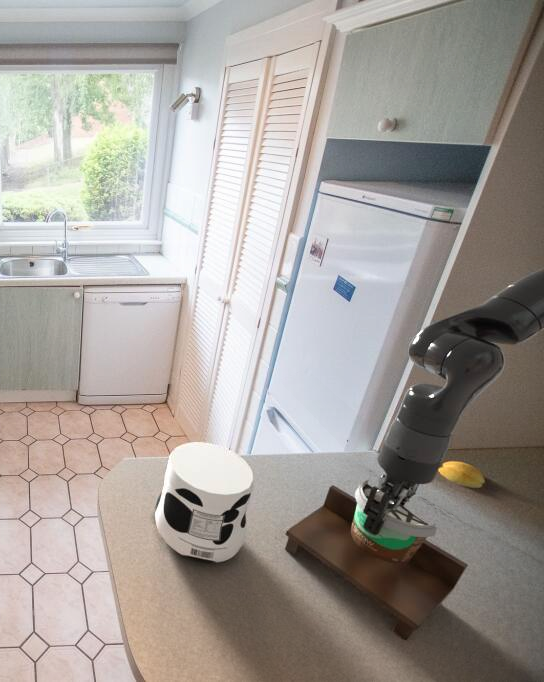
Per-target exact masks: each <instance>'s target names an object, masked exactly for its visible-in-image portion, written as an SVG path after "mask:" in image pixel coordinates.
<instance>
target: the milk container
mask: <svg viewBox="0 0 544 682" xmlns="http://www.w3.org/2000/svg"><path fill="white" fill-rule="evenodd" d="M253 488H254V474H253V470H252V468H251V467H250V465H249V463H248V462H247V460H245V459H244V458H242V457H241V456H240V455H239V454H238V453H236V452H234V451H232V450H230V449H228V448H226V447H225V446H221V445H218V444H215V443H211V442H203V441H193V442H185V443H183V444H181V445H179V446H176V448H174V449H173V451H171V452H170V454H169V458H168V461H167V467H166V471H165V475H164V484H163V488H162V490H161V492H160V494H159V496H158V497H157V500H156V502H155V509H154V510H155V512H154V513H155V514H154V516H155V525H156V528H157V531H158V533H159V535H160V536H161V538H162V540H163V541H164V542H165V544H166V545H167V546H168V547H169V548H171V549H172V550H173V551H174V552H176V553H177V554H179V555H180V556H183V557H184V558H186V559H188V560H191V561H194V562H198V563H205V564H217V563H223V562H225V561H227V560H229V559H231V558H233V557H234V556H235V555H237V553H238V552H239V551H240V549H241V547H242V546H243V545H244V541H245V539H246V535H247V530H248V529H247V525H248V524H247V511H248V507H249V505H250V500H251V496H252V493H253V490H254V489H253Z"/></svg>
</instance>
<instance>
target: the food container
mask: <svg viewBox="0 0 544 682" xmlns="http://www.w3.org/2000/svg"><path fill="white" fill-rule="evenodd" d="M372 487H373V486H371V484H369V479H366V480H364V481H363V482H362V483H360V485H359V486H358V488H357V489H356V490H355V493H354V498H355V499H356V501H357V507H356V511H355V515H354V519H353V523H352V527H351V535H352V537H353V539H354V541H355V542H356V543H357V544H358V545H359V546H360V547H361V548H362V549H363V550H364V551H366V552H367V553H369V554H370V555H372V556H374V557H376V558H378V559H380V560H383V561H386V562H390V563H396V564H402V563H407V562H409V561H410V560H411V558H412V557H413V556H414V554H415V553H416V552H417V550H418V549H419V548H420V546H421V545H422V544H423V542H424V541H425V540H427V538H430V537H434V536H436V533H437V527H436V526H437V523H433V524H429V523H428V522H425V521H424V520H422V519H421V518H419V517H418V516H416V515H415V514H414V513H412V512H411V511H410V510H409V509H408V508H406V507H405V505H404V506H402V505H401V504H399V506H398V507H397V509H396V510H391V511H390V513H389V514H388V516H387V519H386V520H385V521H384V523H383V526H382V528H381V530H380V532H379V534H377V535H373V534H372V533H370V532H369V531H367V530H365V529H364V527H363V525H364V523H365V521H366V518H367V516H368V515H366V514H364V513H363V510H364V508H365V505H366V502H367V500H368V497H369V494H370V491H371V488H372ZM389 503H391V504H393V503H394V501H393V500H391V501H390V502H389Z"/></svg>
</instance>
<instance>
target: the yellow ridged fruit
mask: <svg viewBox="0 0 544 682" xmlns="http://www.w3.org/2000/svg"><path fill="white" fill-rule="evenodd" d="M437 472H439V474H440V475H441V476H443V477H444V478H446V479H447V480H448V481H450V482H452V483H454V484H456V485H459V486H462V487H466V488H473V489H476V488H482V487H483V484H485V482H486V481H485V478H484V476H483V474H482V472H480V470H478V469H477V468H476V467H474V466H473V465H471V464H468V463H466V462H463V461H445V462H444V463H442V466H440V467H439V469H438V471H437Z"/></svg>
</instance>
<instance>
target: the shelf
mask: <svg viewBox="0 0 544 682" xmlns="http://www.w3.org/2000/svg"><path fill="white" fill-rule="evenodd" d="M325 496H326V497H325V499H324V502H323V504H322V505H321V506H320V507H319V508H317V509H316V510H315V511H313V512H311V513H310V514H308V515H307V516H306V517H304V518H303V519H301V520H299V521H298V522H297V523H295V524H294V525H292V526H291V527H290V528H288V529H287V530H286V531H285V536H287V541H286V543H285V547H284V550H285V551H286V552H288V553H289V554H290V555H292V556H293V557H295V556H296V555H298V554H300V553H301V552H302V551H303V550H306V551H307V552H308V553H309V554H311V555H313V556H314V557H315V558H316V559H318V560H319V561H320V562H322V563H323V564H325V566H327V567H328V568H330V569H332V570H333V571H334V572H335V573H337V574H338V575H340V577H342V578H344V579H345V580H347V581H348V582H349V583H350V584H352V585H353V586H354V587H356V588H357V589H358V590H360V591H361V592H363V593H364V594H366V596H368V597H369V598H370V599H373V600H374V601H375V602H376V603H377V604H379V605H381V606H382V607H383V608H384V609H386V610H388V612H390V613H391V614H393V615H394V616H396V617H397V618H398V619H397V621H396V623H395V624H394V626H393V628H392V632H393V633H394V634H396V635H397V636H398V637H399V638H401V639H402V640H403V641H405V642H407V641H408V640H409V639H410V638H411V637H412V635H414V633H416V631H418V630H420V628H421V627H422V625H423V624H424V623H425V622H426V621H427V620H428V619H429V618H430V617H431V615H433V614H434V612H435V611H436V610H437V609H438V608H439V607H440V605H441V604H442V603H443V602H444V601H445V600H446V599H447V598H448V596H449V595H450V594H452V592H453V591H454V590H455V588H456V587H457V585H458V584H459V581H460V580H461V578H462V576H463V575H464V573H465V571H466V569H467V568H468V566H469V564H468V563H466V562H465V561H463V560H461V559H459V558H458V557H456V556H454V555H452V554H450V552H447V551H446V550H444V549H442V548H441V547H439V546H437V545H435V544H433V543H432V542H431V541H429V540H427V539H425V541H424V542H423V544H422V545H421V546H420V548H419V549H418V550H417V552H416V553H415V554H414V556H413V557H412V558H411V560H410V561H409V562H407V563H402V564H396V563H390V562H386V561H383V560H380V559H378V558H376V557H374V556H372V555H370V554H369V553H367V552H366V551H364V550H363V549H362V548H361V547H360V546H359V545H358V544H357V543H356V542H355V541H354V539H353V537H352V535H351V527H352V523H353V519H354V515H355V511H356V507H357V501H356V499H355V496H353V495H351V494H349V493H347V492H346V491H344V490H342V489H340V488H339V487H337V486H336V485H334V484H332V485H330V486H329V488H328V491H327V494H326V495H325Z"/></svg>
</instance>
